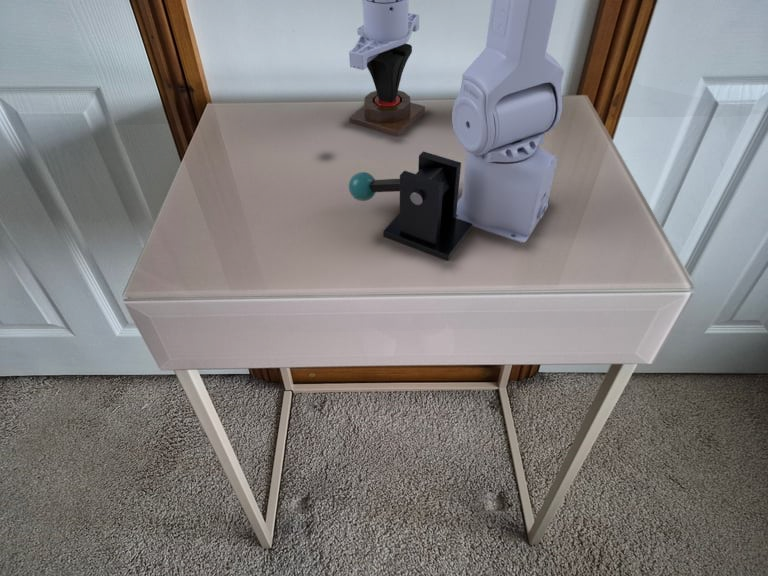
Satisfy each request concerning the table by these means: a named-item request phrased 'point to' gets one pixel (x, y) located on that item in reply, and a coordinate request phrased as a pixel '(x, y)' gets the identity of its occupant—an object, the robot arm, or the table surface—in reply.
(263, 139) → the table surface
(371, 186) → the switch lever
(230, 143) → the table surface
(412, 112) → the button housing
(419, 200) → the switch bracket
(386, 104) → the stop button
